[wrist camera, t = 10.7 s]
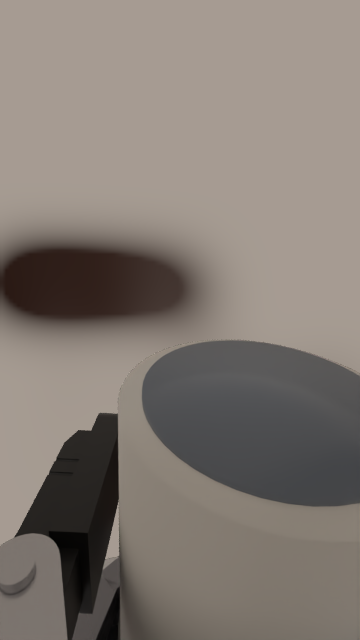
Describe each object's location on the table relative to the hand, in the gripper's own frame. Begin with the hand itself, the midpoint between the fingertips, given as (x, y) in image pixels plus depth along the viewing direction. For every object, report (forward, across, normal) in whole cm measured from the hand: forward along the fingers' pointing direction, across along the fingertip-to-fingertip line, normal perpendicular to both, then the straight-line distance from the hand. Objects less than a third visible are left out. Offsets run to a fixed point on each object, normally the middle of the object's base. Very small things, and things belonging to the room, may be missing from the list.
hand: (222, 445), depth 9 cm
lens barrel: (-3, 0, +7) cm, 7 cm away
